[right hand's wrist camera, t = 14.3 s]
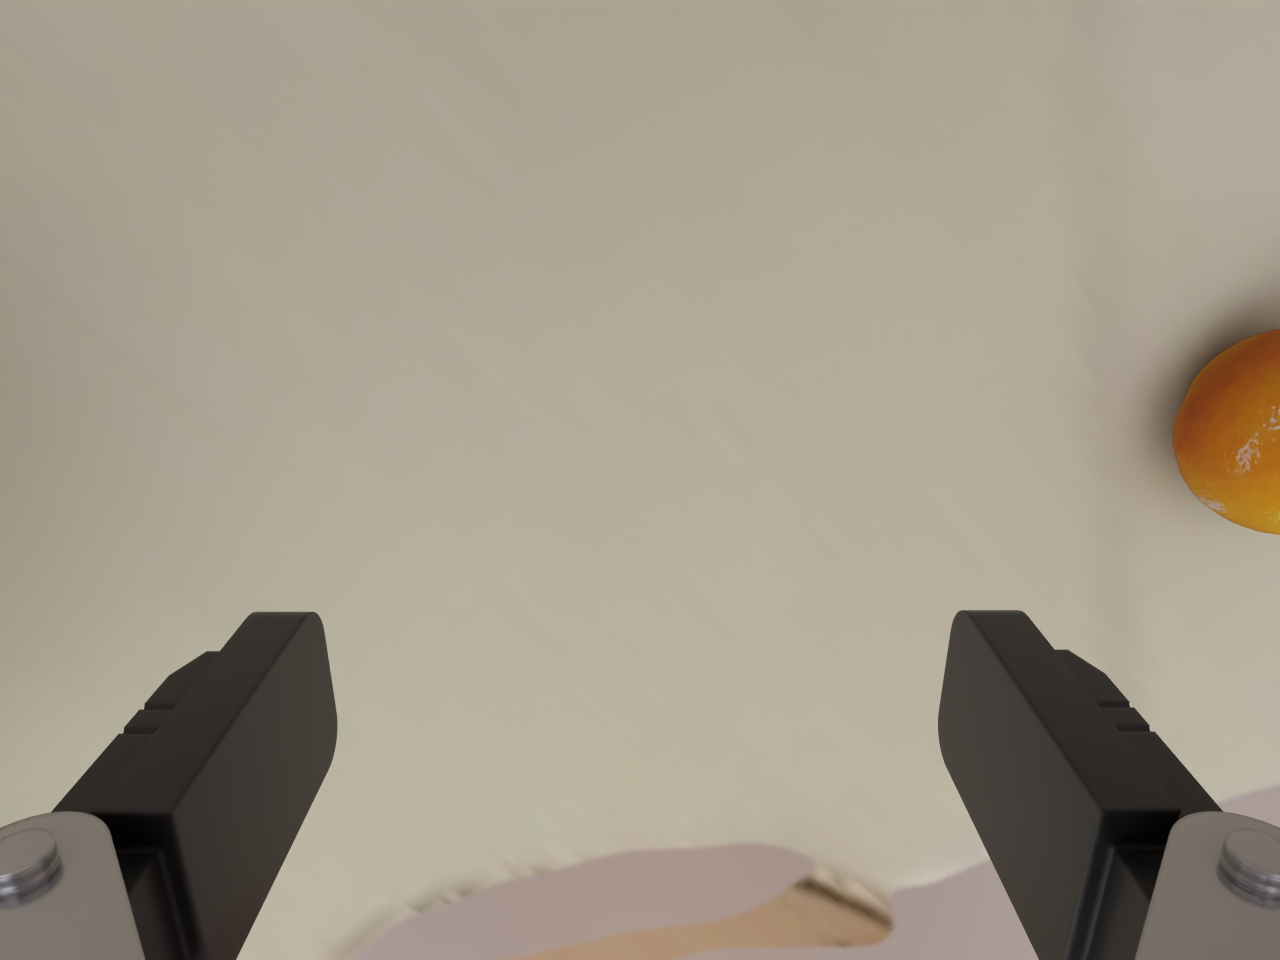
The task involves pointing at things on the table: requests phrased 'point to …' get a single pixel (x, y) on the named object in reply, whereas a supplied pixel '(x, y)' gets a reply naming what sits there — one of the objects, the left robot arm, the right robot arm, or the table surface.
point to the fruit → (1235, 434)
